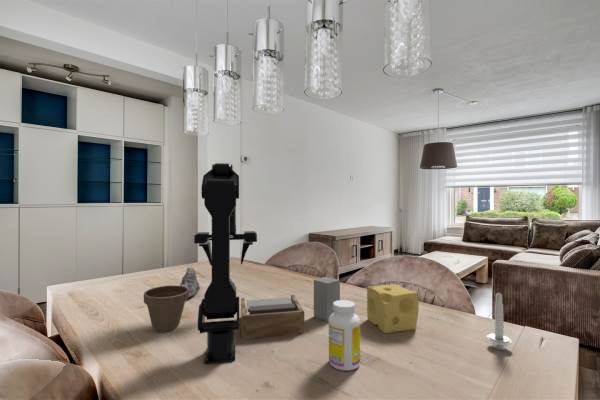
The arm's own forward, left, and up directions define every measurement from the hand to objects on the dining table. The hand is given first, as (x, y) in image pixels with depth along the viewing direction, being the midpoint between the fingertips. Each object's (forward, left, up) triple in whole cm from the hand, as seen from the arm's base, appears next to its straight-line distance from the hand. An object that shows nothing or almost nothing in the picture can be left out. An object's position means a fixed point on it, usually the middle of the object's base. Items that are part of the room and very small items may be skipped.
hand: (226, 264), depth 97 cm
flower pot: (-9, +16, -15) cm, 23 cm away
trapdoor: (-13, -12, -11) cm, 21 cm away
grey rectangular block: (-11, -29, -15) cm, 35 cm away
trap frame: (-13, -12, -14) cm, 23 cm away
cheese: (-20, -45, -15) cm, 52 cm away
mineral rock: (+20, +15, -15) cm, 29 cm away
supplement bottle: (-37, -25, -15) cm, 47 cm away
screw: (-38, -63, -15) cm, 75 cm away
